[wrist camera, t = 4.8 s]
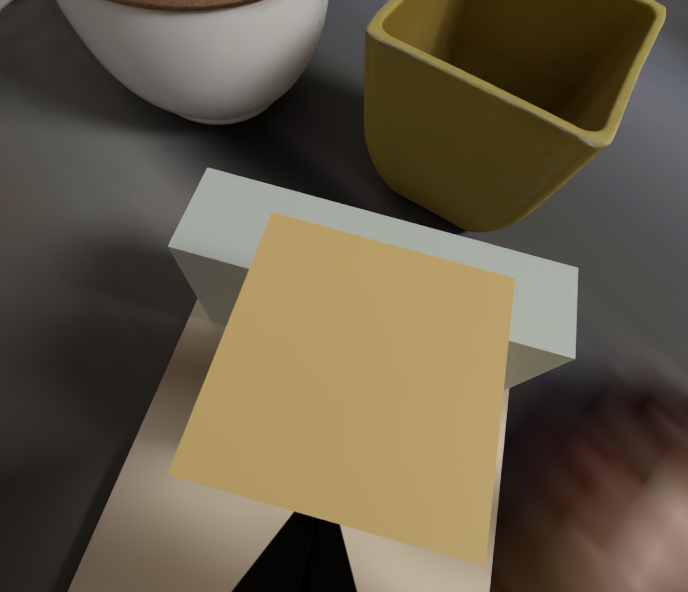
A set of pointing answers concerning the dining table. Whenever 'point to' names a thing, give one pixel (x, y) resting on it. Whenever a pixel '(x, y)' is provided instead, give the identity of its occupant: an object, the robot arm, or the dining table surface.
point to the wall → (262, 199)
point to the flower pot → (497, 97)
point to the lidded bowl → (202, 50)
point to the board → (230, 511)
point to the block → (358, 389)
